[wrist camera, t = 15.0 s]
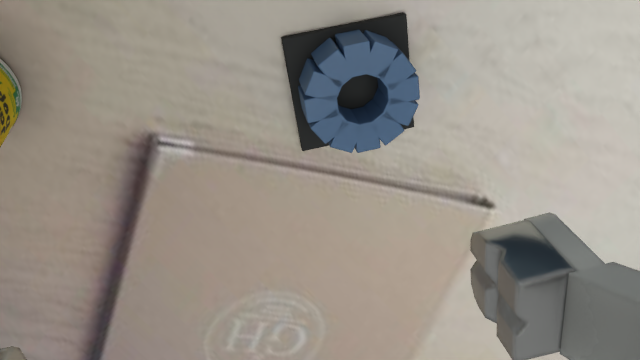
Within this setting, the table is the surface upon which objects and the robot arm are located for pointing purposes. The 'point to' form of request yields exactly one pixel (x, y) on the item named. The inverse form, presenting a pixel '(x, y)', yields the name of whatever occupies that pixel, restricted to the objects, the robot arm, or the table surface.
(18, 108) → the supplement bottle
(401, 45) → the mat
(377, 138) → the ring
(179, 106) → the table surface
